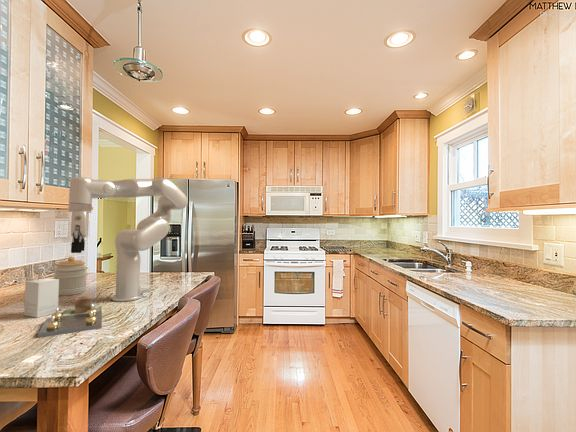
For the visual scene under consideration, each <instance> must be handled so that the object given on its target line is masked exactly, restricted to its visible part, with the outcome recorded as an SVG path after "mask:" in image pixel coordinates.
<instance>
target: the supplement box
mask: <svg viewBox="0 0 576 432" xmlns="http://www.w3.org/2000/svg"><path fill="white" fill-rule="evenodd" d="M24 285H25V288H24V289H25V290H24V307H23V308H24V312H23V313H24V314H23V315H24V316H25V317H31V318H41V317H44V316H49V315H52V314H55V310H56V308H59V296H60V295H59V279H54V278H47V277H46V278H38V279H34V280H28V281H25V284H24Z"/></svg>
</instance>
